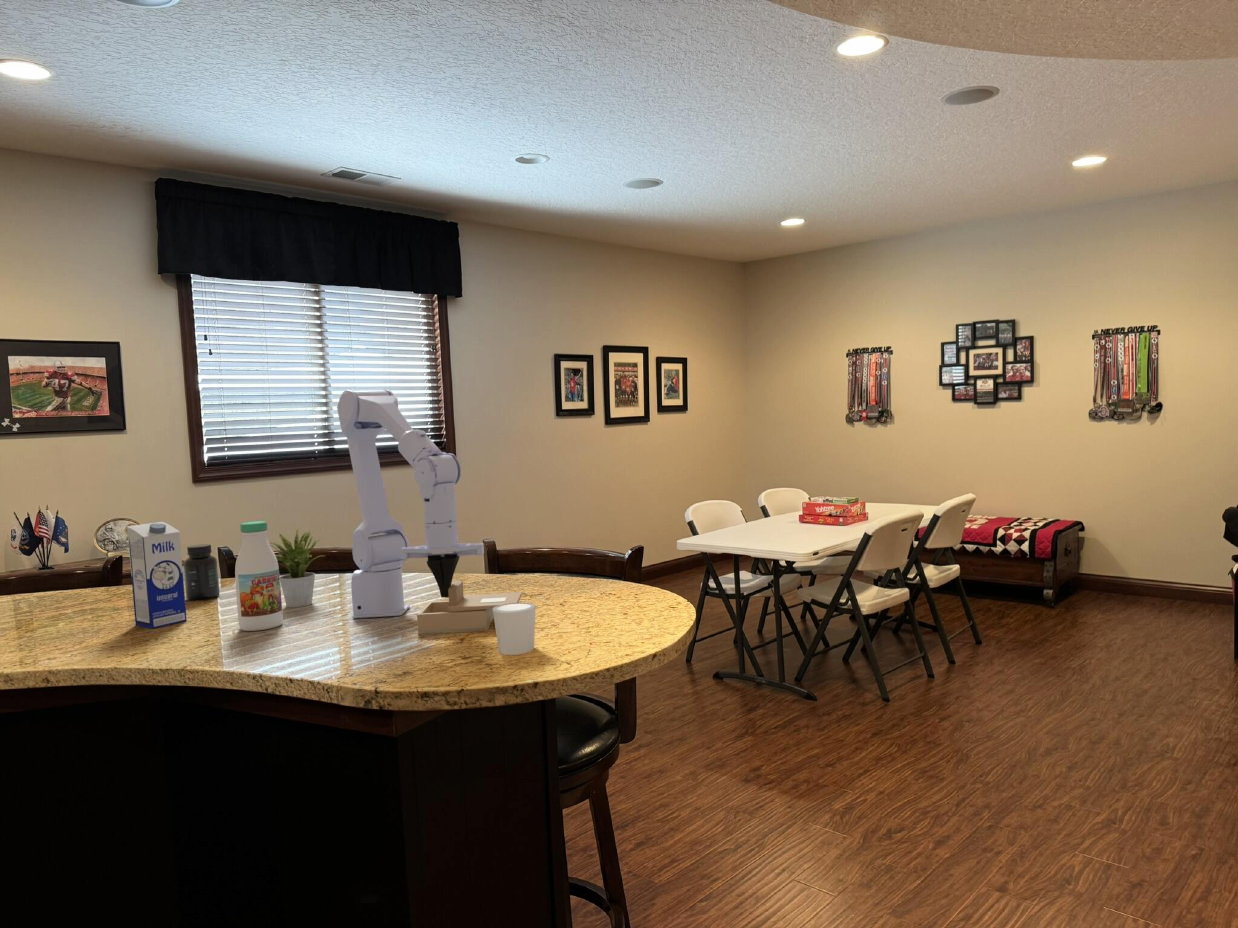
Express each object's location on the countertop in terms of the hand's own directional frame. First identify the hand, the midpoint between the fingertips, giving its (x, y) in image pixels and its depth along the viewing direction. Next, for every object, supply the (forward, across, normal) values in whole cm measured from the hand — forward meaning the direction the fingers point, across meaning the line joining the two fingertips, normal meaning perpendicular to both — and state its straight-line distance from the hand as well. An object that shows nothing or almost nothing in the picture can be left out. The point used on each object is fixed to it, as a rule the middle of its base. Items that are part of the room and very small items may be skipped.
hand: (445, 596), depth 151 cm
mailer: (+6, +2, 0) cm, 6 cm away
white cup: (+6, +14, -18) cm, 24 cm away
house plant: (+6, -37, +28) cm, 47 cm away
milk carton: (+6, -60, +16) cm, 62 cm away
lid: (+2, +7, 0) cm, 7 cm away
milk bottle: (+6, -37, +8) cm, 38 cm away
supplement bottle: (+6, -63, +40) cm, 75 cm away
